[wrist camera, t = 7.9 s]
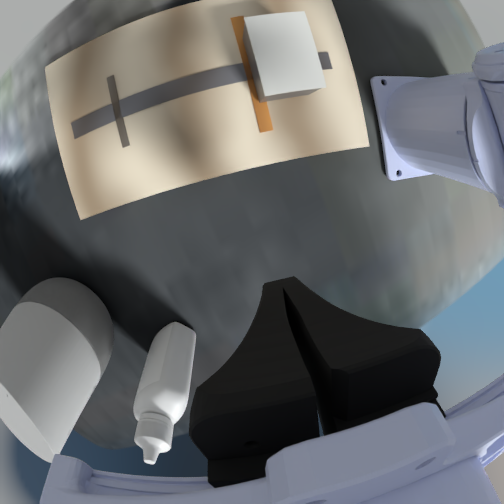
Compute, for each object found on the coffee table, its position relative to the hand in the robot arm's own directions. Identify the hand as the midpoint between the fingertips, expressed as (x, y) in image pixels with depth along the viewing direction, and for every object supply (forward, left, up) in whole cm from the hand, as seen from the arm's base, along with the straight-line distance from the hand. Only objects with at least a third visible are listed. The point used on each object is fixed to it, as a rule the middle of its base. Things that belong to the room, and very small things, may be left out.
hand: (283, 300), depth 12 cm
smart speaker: (+18, +3, -10) cm, 21 cm away
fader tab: (-3, -11, -7) cm, 13 cm away
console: (+2, -11, -9) cm, 14 cm away
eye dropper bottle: (+10, +8, -10) cm, 16 cm away
